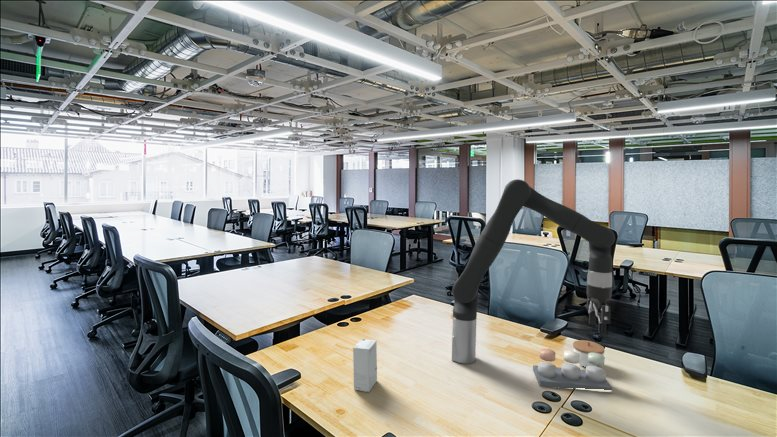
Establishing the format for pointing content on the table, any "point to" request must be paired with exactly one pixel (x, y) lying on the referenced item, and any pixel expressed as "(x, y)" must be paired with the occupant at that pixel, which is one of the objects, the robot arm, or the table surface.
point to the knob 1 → (547, 355)
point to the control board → (569, 382)
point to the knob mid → (571, 357)
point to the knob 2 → (596, 359)
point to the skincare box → (365, 365)
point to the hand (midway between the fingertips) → (597, 328)
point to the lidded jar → (587, 350)
